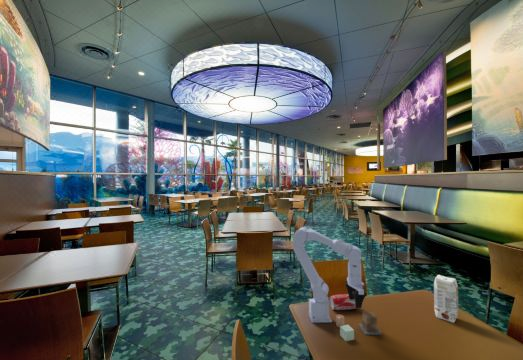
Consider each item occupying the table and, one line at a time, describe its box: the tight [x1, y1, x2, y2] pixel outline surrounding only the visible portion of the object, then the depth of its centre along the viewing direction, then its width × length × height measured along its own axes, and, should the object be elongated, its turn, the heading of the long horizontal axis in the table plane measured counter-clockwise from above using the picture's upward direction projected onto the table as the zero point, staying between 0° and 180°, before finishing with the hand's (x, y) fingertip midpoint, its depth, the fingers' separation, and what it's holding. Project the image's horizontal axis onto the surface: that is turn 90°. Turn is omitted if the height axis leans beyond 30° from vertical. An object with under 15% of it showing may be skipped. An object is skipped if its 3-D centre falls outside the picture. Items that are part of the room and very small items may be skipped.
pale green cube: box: [339, 324, 355, 342], centre depth 100 cm, size 4×4×4 cm
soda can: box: [329, 293, 358, 311], centre depth 123 cm, size 7×7×13 cm
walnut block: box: [361, 311, 378, 332], centre depth 105 cm, size 4×4×6 cm
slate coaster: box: [358, 323, 383, 336], centre depth 105 cm, size 7×7×1 cm
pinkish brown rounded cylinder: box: [335, 313, 345, 329], centre depth 108 cm, size 4×4×4 cm
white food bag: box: [433, 274, 459, 324], centre depth 114 cm, size 8×9×19 cm
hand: (355, 303), depth 109 cm, fingers open, 7 cm apart
